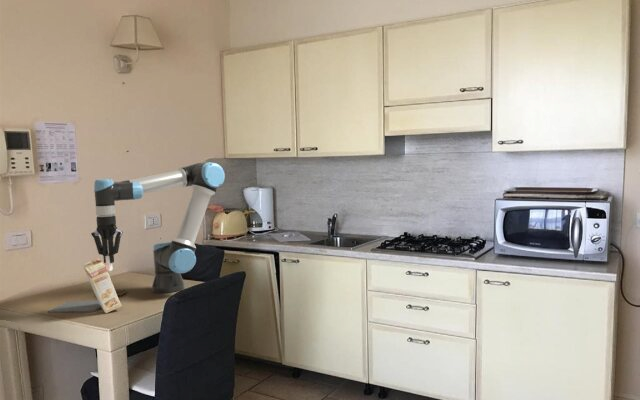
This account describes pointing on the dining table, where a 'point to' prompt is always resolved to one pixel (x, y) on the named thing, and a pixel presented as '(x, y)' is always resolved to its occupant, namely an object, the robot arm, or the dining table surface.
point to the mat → (77, 307)
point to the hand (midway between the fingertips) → (109, 270)
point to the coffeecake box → (102, 285)
